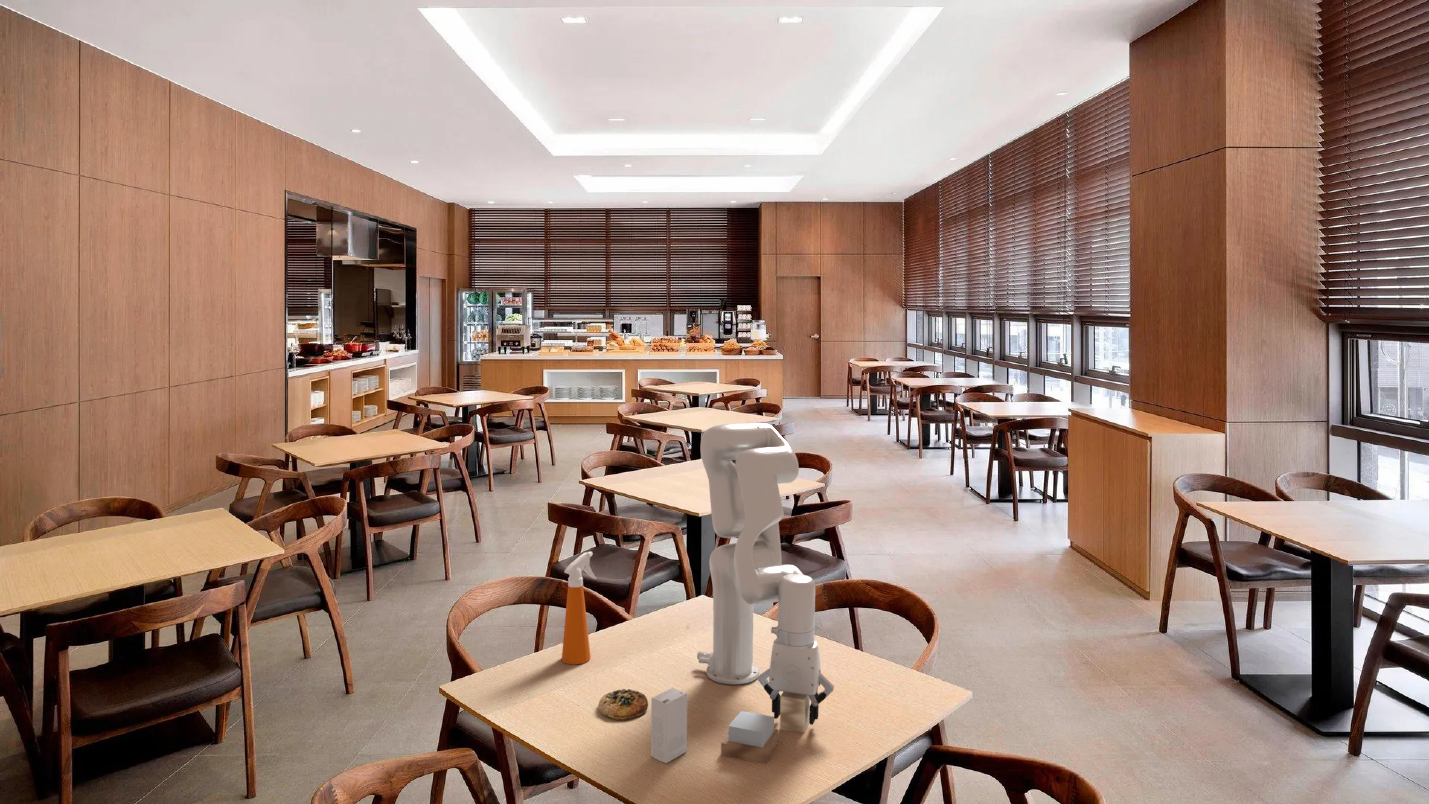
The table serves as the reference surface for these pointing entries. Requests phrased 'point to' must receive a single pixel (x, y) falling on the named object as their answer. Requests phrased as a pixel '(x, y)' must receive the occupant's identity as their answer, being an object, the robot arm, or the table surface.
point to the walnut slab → (749, 749)
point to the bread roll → (623, 704)
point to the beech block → (794, 712)
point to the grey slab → (751, 729)
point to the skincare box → (668, 725)
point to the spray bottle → (576, 613)
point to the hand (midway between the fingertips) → (794, 718)
